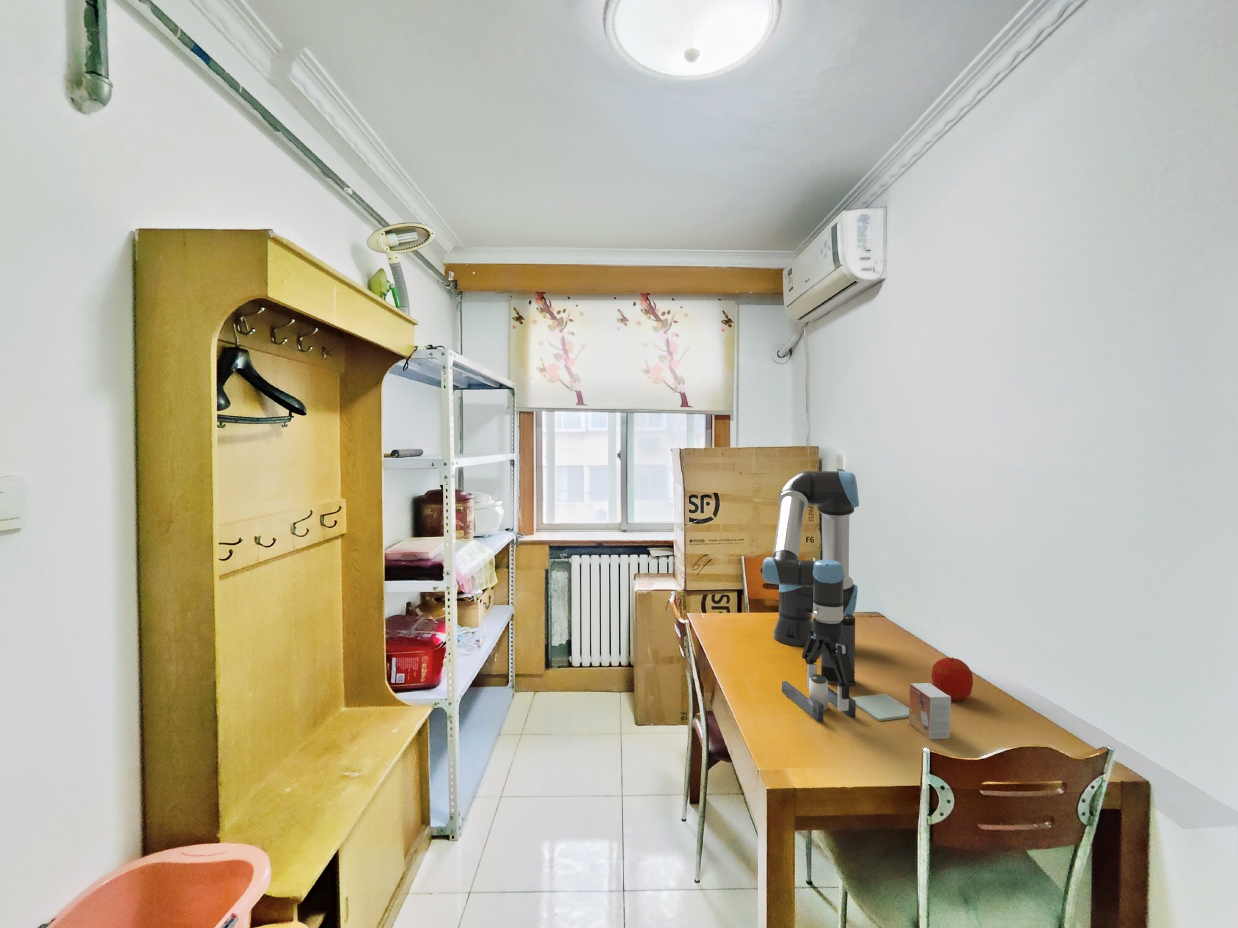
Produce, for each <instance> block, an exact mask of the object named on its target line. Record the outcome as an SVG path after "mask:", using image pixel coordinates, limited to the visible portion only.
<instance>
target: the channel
mask: <svg viewBox="0 0 1238 928" xmlns="http://www.w3.org/2000/svg"><path fill="white" fill-rule="evenodd" d="M781 692H782V693H783V694H784V695H785V696H786V697H788V698H789V699H790V700H791V701H792V702H793V703H795V704H796V705H797V706H798V707H800V709H802V710H803V711H804V712H805V713H806V714H808V715H809V716H810V717H811V718H812V719H814V720H815V721H816V722H817V723H823V722H824V720H825V719H824V717H825V715H824V713H825V712H824V711H825V710H824V705H823V704H822V703H821V702H819V701H811V700H810V699H809V697H807V696H806V695H805V694H804V693H803V692H801V691H800V690H799V689H798V688H796V687H795V686H794V685H792V684H791V683H789V682H788V681H787V680H782V681H781ZM852 698H853V697H851V696H849V710H846V711H841V712H842V713H843V714H844V715H846V716H847V717H848V718H850V719H854V718H857V716H856V713H857V712H856V711H857V710H856V709H857V708H856V707H857V706H856V701H855V700H854V699H852ZM837 699H838V692H836V691H835V690H834V689H832V688H831V687H829V686H828V703H829V704H831V705H832V706H833V707H835V708H836V709H837Z"/></svg>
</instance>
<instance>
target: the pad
mask: <svg viewBox="0 0 1238 928" xmlns="http://www.w3.org/2000/svg"><path fill="white" fill-rule="evenodd" d="M851 698H852V699H854V700H855V701H856V707H858V708H859V709H861V711H863V712H865V714H867V715H869V716H870V717H872V718H873V719H875V720H876V721H878V722H882V721H884V722H885V721H889V720H896V719H897V720H899V719H905V718H909V706H906V705H904V704H903V703H902V702H899V701H898V700H896V699H895V698H893V697H892V696H890V695H888V694H887V693H879V694H870V695H863V696H856V697H855V696H854V697H851Z"/></svg>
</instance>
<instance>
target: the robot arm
mask: <svg viewBox="0 0 1238 928" xmlns="http://www.w3.org/2000/svg"><path fill="white" fill-rule="evenodd" d="M858 491H859V490H858V484H857V477H856V475H855V473H854V472H851V471H841V470H839V471H837V470H835V471H834V470H833V471H831V470H830V471H827V470H826V471H823V470H822V471H821V470H819V471H816V470H814V471H813V470H806V471H802V472H799V473H797V474H795V475H793V476H792V477H790V478H789V479H788V480H787V481H786V482H785V483H784V485H782V488H781V489H780V491H779V494H778V499H777V500H778V502H777V503H778V506H779V513H778V518H777V523H776V532H775V537H774V543H773V549H772V555H771V556H770V557H768V556H767V557H764V559H763V563H762V570H761V571H762V579H763V581H764V582H765V583H767V584H773V585H778V587H779V588H778V619H777V621H776V624H775V627H774V630H773V638H774V639H775V640H776V641H777V642H779V643H783V644H786V645H790V646H797V647H804V649H803V651H802V653H801V657H802V659H803V660H805V663H806V688H807V689H808V690H809V678H810V677H811V675H814V674H818V664H817V663H818V660H819V658H820V657H821V654H822V653H824V654H825V655H826V656H828V659H829V660H831V662H832V665H833V667H834V670H835V672H836V675H837V678H838V680H839V683H840V684H837V693H838V699H837V708H836V709H837V711H838V712H842V711H846V710H849V697H850V693H851V692H850V687H856V686H857V684H856V683H857V682H856V679H855V678H854V674H853V671H852V667H851V663H850V659H849V655H848V646H847V645H840V643H839V638H840V637H841V636H842V635H843V622H842V620H843V616H845V615H846V614H851V615H853V616H854V614H855V612H856V606H857V598H858V590H859V589H858V588H859V587H858V585H857V584H855V583H854V580H853V578H851V576H849V575H850V573H849V571H850V570H849V569H850V516H851V515H852V514H853V513H854V512H855V508H857V507H859V505H860V499H859V492H858ZM808 506H817V511H818V513H819V514H821V515H822V521H821V523H822V525H821V526H822V531H821V532H822V535H821V536H822V559H819V560H804V559H799V556H800V548H801V539H802V533H803V532H802V531H803V522H804V515H805V514H804V513H805V511H806V509H807V508H808ZM835 654H837V655H835ZM834 655H835V656H834ZM843 680H844V681H843Z"/></svg>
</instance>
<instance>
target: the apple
mask: <svg viewBox="0 0 1238 928" xmlns="http://www.w3.org/2000/svg"><path fill="white" fill-rule="evenodd" d="M973 677H974V676H973V671H972V670H971V669H970V667H969V666H968V665H967V664H966V663H965V662H964V661H962V660H961V659H959V658H956V657H955V658H954V657H943V658H941V659H938V660H937V661H936V662H935V663H934V664H933V665H932V671H931V679H932V680H931V681H932V685H933V686H935V687H936V688H938V689H939V690H941V691H942V692H944V693H945V694H947V695H949V696H950V697H951V701H958V702H959V701H962V700H964V699H966V698H968V697H970V696H971V694H972V693H971V692H972V690H973V686H974V678H973Z"/></svg>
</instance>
